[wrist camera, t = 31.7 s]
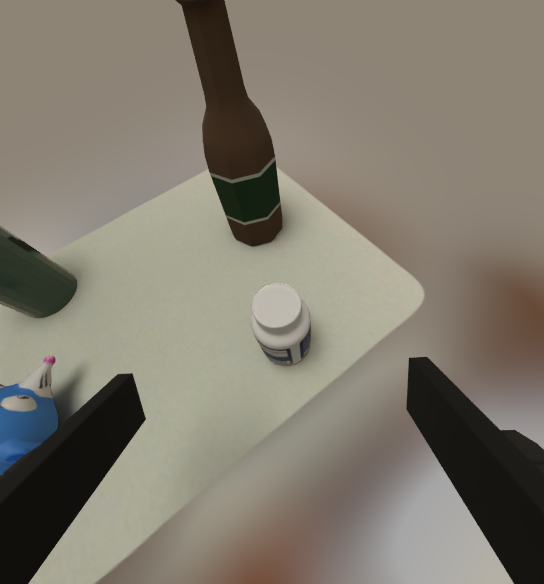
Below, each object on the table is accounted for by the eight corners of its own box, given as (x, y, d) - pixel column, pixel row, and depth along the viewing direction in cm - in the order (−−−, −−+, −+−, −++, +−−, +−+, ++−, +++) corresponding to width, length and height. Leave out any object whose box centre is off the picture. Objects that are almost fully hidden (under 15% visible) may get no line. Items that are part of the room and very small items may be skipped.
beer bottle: (264, 200, 40) (218, -54, 19) (294, 228, 36) (277, -47, 15) (222, 224, 38) (121, -22, 18) (249, 257, 35) (162, -6, 14)
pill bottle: (294, 311, 30) (289, 264, 22) (319, 350, 27) (325, 314, 19) (254, 334, 29) (232, 294, 21) (276, 376, 27) (261, 350, 18)
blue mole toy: (124, 381, 28) (61, 363, 21) (52, 509, 23) (-65, 544, 16) (48, 351, 32) (-30, 326, 24) (-31, 459, 26) (-160, 469, 19)
